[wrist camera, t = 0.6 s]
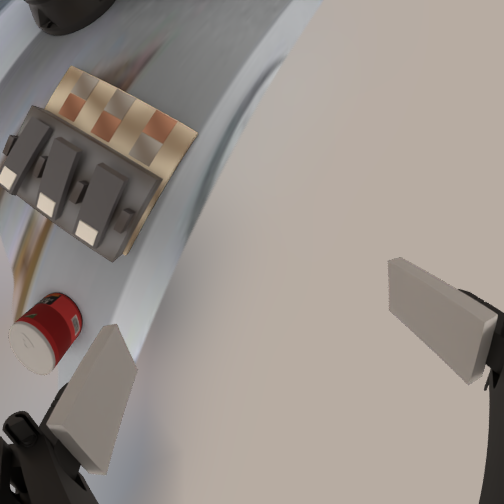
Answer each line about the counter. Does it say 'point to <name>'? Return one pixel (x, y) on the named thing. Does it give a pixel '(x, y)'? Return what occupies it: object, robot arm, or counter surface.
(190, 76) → the counter surface
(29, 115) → the switch unit
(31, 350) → the canned food
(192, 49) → the counter surface
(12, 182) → the rocker
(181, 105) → the counter surface
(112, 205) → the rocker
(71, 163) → the rocker middle
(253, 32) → the counter surface
